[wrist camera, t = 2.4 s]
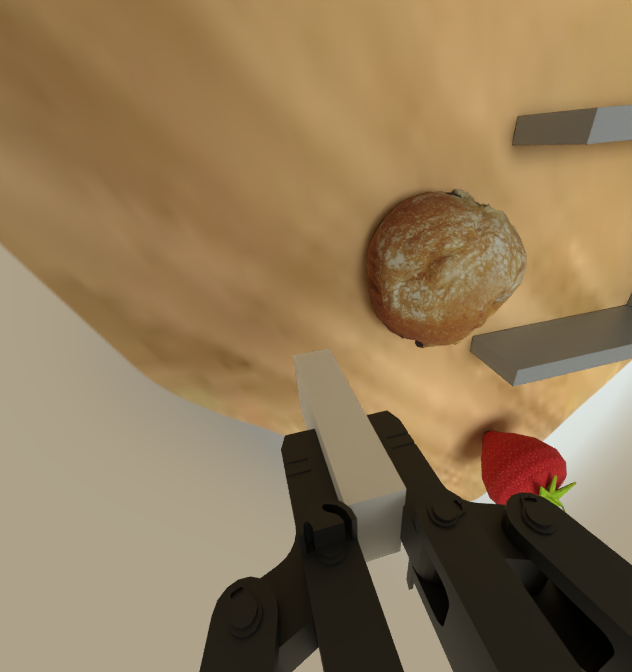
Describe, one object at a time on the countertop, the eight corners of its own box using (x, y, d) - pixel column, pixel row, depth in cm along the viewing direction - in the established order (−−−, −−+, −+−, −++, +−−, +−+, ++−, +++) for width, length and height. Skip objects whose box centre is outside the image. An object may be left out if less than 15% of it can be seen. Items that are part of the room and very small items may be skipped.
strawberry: (444, 447, 34) (515, 544, 26) (500, 398, 33) (595, 485, 24) (472, 464, 37) (544, 556, 29) (524, 420, 36) (618, 504, 27)
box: (518, 115, 20) (598, 107, 16) (737, 98, 23) (855, 87, 18) (470, 351, 28) (513, 386, 24) (633, 316, 31) (696, 342, 27)
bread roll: (467, 212, 26) (566, 169, 18) (468, 340, 27) (563, 351, 19) (349, 208, 24) (406, 157, 16) (354, 348, 25) (410, 365, 17)
